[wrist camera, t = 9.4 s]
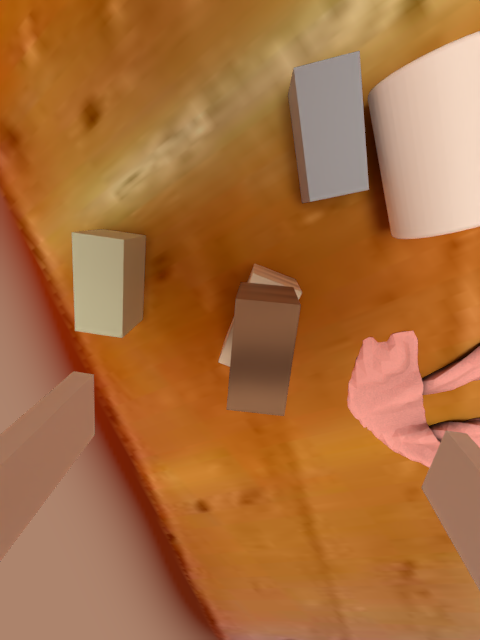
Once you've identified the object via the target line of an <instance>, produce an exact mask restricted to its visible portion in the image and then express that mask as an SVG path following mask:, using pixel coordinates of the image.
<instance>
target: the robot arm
mask: <svg viewBox="0 0 480 640" xmlns="http://www.w3.org/2000/svg"><path fill="white" fill-rule="evenodd" d="M94 425H95V424H94V375H93V374H86V373H80V372H72V373H71V374H70V375H69V376H68V377H67V378H65V379H64V380H63V381H62V382H61V383H60V384H58V385H57V386H56V387H55V388H54V389H53V390H51V391H50V392H49V393H48V394H47V395H46V396H44V397H43V398H42V399H41V400H40V401H39V402H38V403H36V404H35V405H34V406H33V407H32V408H31V409H29V410H28V411H27V412H26V413H25V414H23V415H22V416H21V417H20V418H19V419H18V420H17V421H15V422H14V423H13V424H12V425H11V426H10V427H9V428H7V429H6V430H5V431H4V432H3V433H1V434H0V561H1V560H2V558H3V557H4V556H5V554H6V553H7V552H8V550H9V549H10V548H11V546H12V545H13V544H14V542H15V541H16V540H17V538H18V537H19V536H20V534H21V533H22V532H23V530H24V529H25V528H26V526H27V525H28V524H29V522H30V521H31V520H32V518H33V517H34V516H35V514H36V513H37V512H38V510H39V509H40V508H41V506H42V505H43V504H44V502H45V501H46V499H47V498H48V497H49V495H50V494H51V493H52V491H53V490H54V489H55V487H56V486H57V485H58V483H59V482H60V481H61V479H62V478H63V477H64V475H65V474H66V472H67V471H68V470H69V468H70V467H71V466H72V465H73V463H74V462H75V461H76V459H77V458H78V456H79V455H80V454H81V452H82V451H83V450H84V449H85V447H86V446H87V444H88V443H89V442H90V440H91V439H92V438H93V436H94V435H95V428H94V427H95V426H94ZM422 490H423V491H424V493H425V495H426V497H427V498H428V500H429V502H430V504H431V506H432V507H433V509H434V511H435V513H436V514H437V516H438V518H439V520H440V521H441V523H442V525H443V527H444V529H445V530H446V532H447V534H448V536H449V537H450V539H451V541H452V543H453V544H454V546H455V548H456V550H457V551H458V553H459V555H460V557H461V559H462V560H463V562H464V564H465V566H466V567H467V569H468V571H469V573H470V574H471V576H472V578H473V580H474V582H475V583H476V585H477V587H478V589H479V590H480V448H479V447H478V445H477V444H476V443H475V442H474V441H473V440H472V439H471V438H470V437H469V435H468V434H466V433H460V432H454V431H447V430H446V431H445V433H444V436H443V438H442V440H441V443H440V445H439V448H438V450H437V452H436V455H435V457H434V459H433V462H432V464H431V466H430V469H429V471H428V473H427V476H426V478H425V481H424V483H423V485H422Z"/></svg>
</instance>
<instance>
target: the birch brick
mask: <svg viewBox="0 0 480 640" xmlns="http://www.w3.org/2000/svg"><path fill="white" fill-rule="evenodd" d="M247 283H257V284H268V285H278V286H289V287H294V290H295V292H296V295H297V297H298V300H299V298H300V296H301V294H302V291H301V289H300V287H299V285H298V283H297V281H296V279H293V278H291V277H288V276H286V275H283V274H281V273H278V272H275V271H273V270H270V269H268V268H265V267H263V266H260V265H257V264H254V266H253V269H252V271H251V274H250V276H249V279H248V282H247ZM233 326H234V317H233V320H232V323H231V325H230V328H229V330H228V333H227V335H226V338H225V341H224V344H223V348H222V351H221V354H220V358H219V361H218V362H219V363H221V364H224V365H227V366H229V367H230V362H231V350H232V338H233Z"/></svg>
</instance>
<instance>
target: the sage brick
mask: <svg viewBox="0 0 480 640" xmlns="http://www.w3.org/2000/svg"><path fill="white" fill-rule="evenodd" d="M145 252H146V235H141V234H134V233H127V232H120V231H113V230H106V229H97V230H88V231H79V232H72V255H73V284H74V313H75V331H80V332H87V333H94V334H100V335H107V336H113V337H120V338H123V337H124V336H125V335H126V334H127V333H128V332H129V331H130V330H132V329H133V328H134V327H135V326H136V325H137V324H138V323H139V322H140V321H142V320H143V305H144V278H145Z"/></svg>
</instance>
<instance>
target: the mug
mask: <svg viewBox="0 0 480 640" xmlns="http://www.w3.org/2000/svg"><path fill="white" fill-rule="evenodd" d="M368 104H369V109H370V115H371V121H372V127H373V132H374V138H375V144H376V150H377V155H378V161H379V167H380V173H381V178H382V184H383V190H384V196H385V201H386V207H387V213H388V218H389V224H390V230H391V235H392V236H393V237H394V238H398V239H416V238H425V237H432V236H438V235H444V234H449V233H454V232H459V231H463V230H467V229H471V228H475V227H479V226H480V31H478V32H476V33H473V34H470V35H468V36H465V37H463V38H460V39H458V40H455V41H453V42H451V43H449V44H446V45H444V46H442V47H440V48H438V49H436V50H434V51H432V52H430V53H428V54H426V55H424V56H422V57H420V58H418V59H416V60H414V61H412V62H411V63H409V64H407V65H405V66H404V67H402V68H400V69H399V70H397V71H395V72H394V73H392V74H391V75H389V76H388V77H386V78H385V79H383V80H382V81H381V82H379V83H378V84H377V85H376V86H375V87H374V88H373V89H372V90H371V91H370V93H369V95H368Z"/></svg>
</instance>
